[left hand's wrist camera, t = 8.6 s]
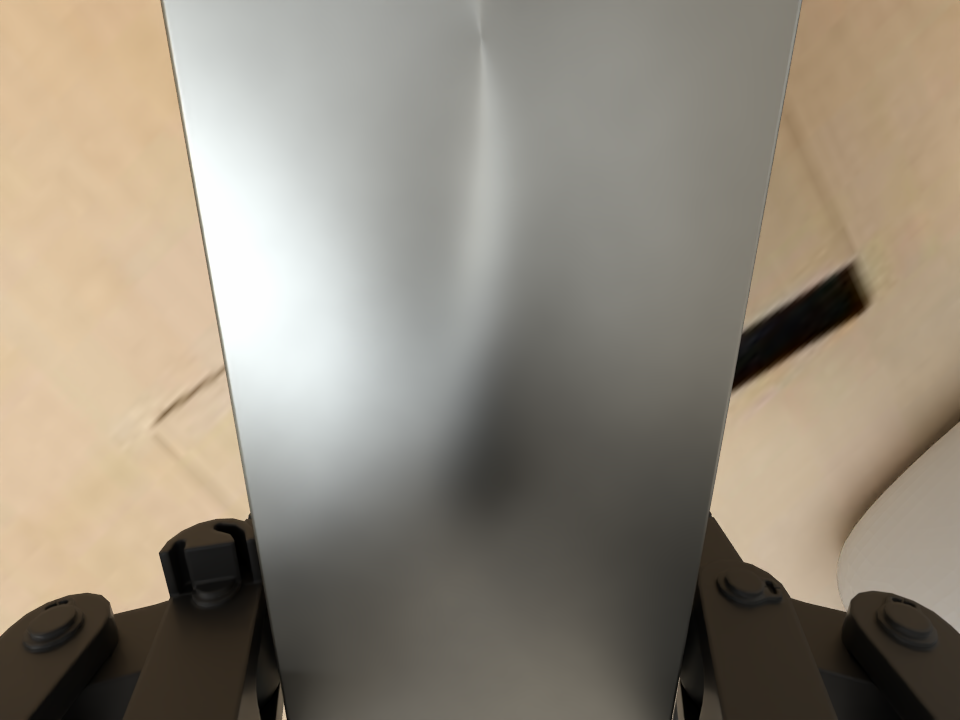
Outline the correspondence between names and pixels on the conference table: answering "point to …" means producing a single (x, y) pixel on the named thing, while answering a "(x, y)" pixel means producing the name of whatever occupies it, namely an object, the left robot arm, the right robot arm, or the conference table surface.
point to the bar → (480, 329)
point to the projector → (912, 536)
